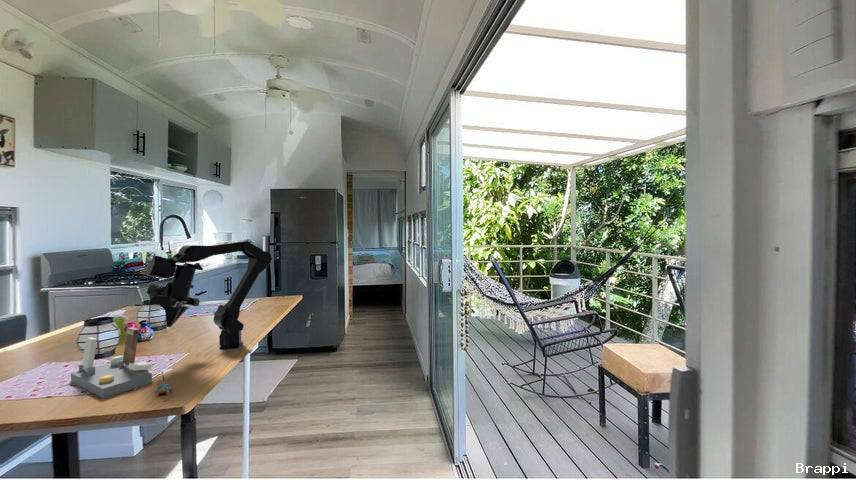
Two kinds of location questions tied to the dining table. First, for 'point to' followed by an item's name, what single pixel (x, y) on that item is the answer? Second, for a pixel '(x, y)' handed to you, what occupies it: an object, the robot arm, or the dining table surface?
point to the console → (110, 378)
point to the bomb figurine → (163, 388)
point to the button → (116, 360)
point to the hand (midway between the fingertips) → (168, 326)
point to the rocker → (139, 366)
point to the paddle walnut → (130, 345)
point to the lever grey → (89, 352)
